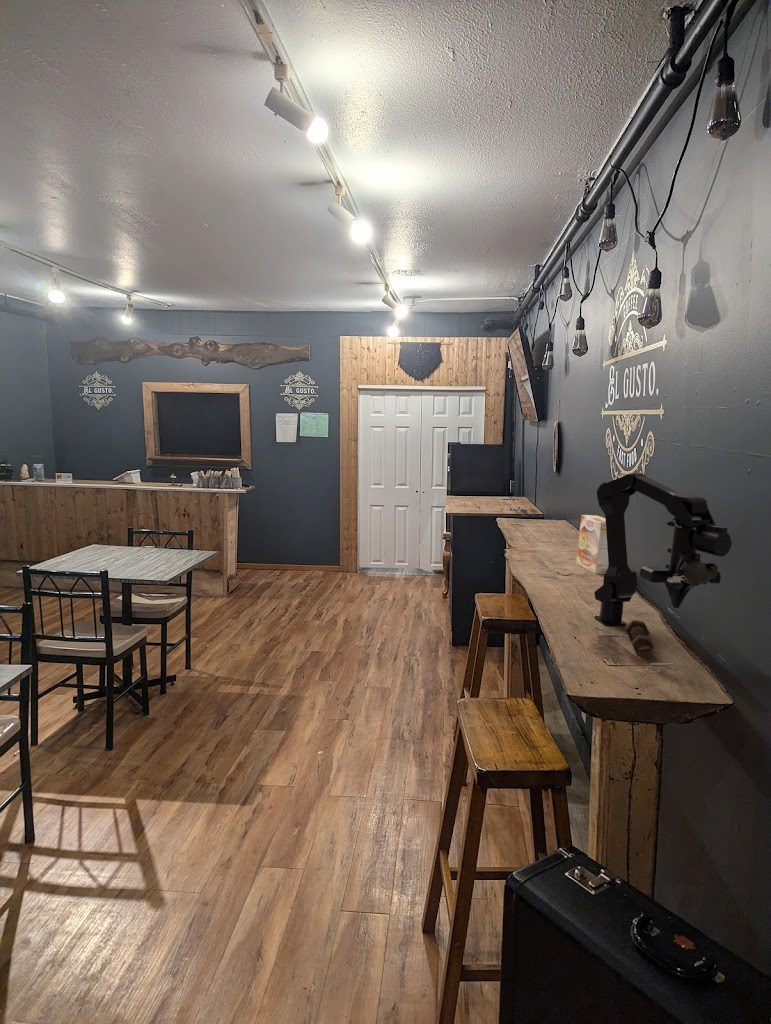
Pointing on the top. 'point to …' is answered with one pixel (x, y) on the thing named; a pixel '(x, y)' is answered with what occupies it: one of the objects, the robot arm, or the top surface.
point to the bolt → (640, 638)
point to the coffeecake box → (593, 544)
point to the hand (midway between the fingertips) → (675, 607)
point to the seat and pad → (613, 650)
